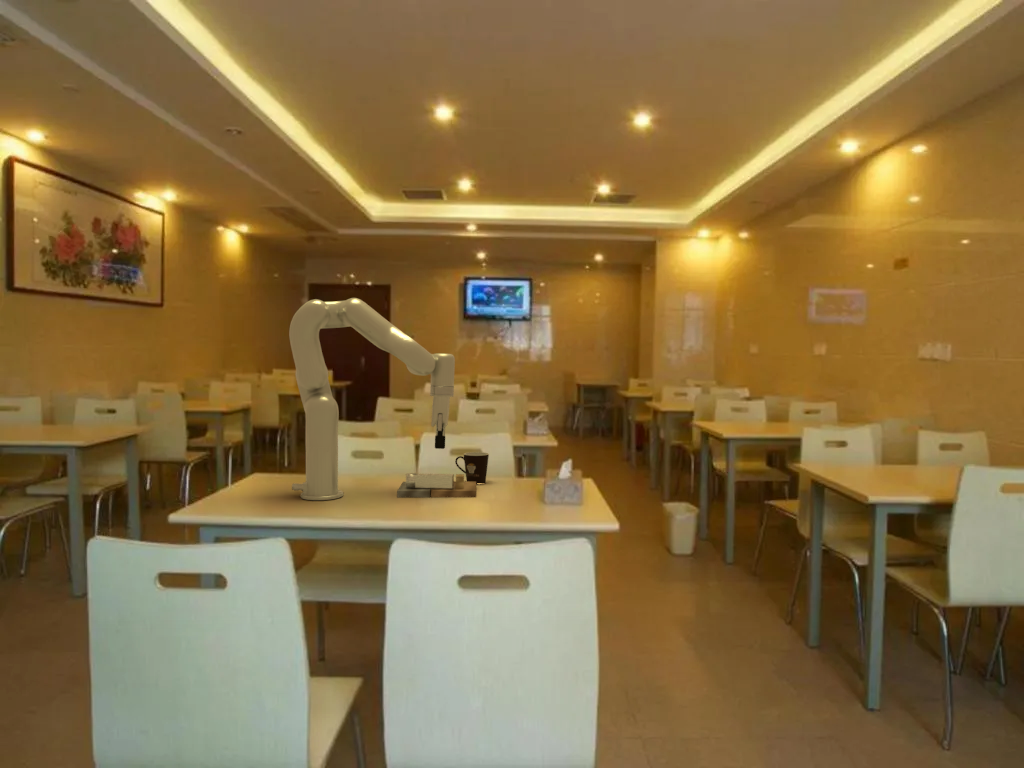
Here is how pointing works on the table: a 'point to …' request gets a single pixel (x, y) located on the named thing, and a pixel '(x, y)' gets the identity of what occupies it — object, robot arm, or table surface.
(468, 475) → the coffee mug
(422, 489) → the wooden flat block
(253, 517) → the table surface
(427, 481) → the lock bar
